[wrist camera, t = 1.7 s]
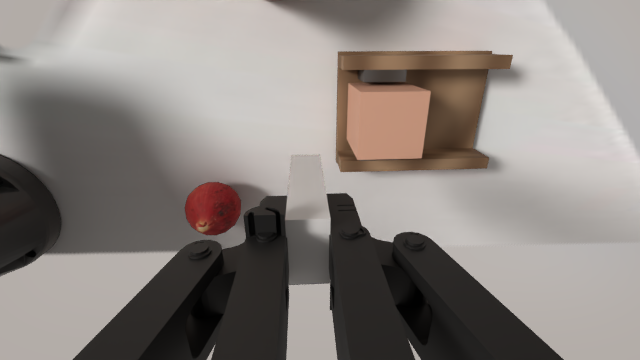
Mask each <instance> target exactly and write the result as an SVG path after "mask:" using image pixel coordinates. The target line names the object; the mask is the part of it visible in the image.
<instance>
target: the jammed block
mask: <svg viewBox="0 0 640 360" xmlns="http://www.w3.org/2000/svg"><path fill="white" fill-rule="evenodd" d="M430 95H431V91H429V90H426V89H423V88H420V87H417V86H414V85H411V84H408V83H405V82H396V83H348V109H347V141H348V143H349V145H350V147H351V149H352V150H353V152H354V154H355V156H356V158H357V160H376V159H418V158H422V153H423V146H424V138H425V131H426V124H427V116H428V109H429V102H430Z"/></svg>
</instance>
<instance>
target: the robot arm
mask: <svg viewBox="0 0 640 360" xmlns="http://www.w3.org/2000/svg"><path fill="white" fill-rule="evenodd" d="M244 223H245V232H246V239H245V242H244V243H242V244H240V245H238V246H235V247H231V248H227V249H223V250H222V247H221V245H220V244H219V243H218V242H216V241H212V240H200V241H196V242H193V243H191V244H189V245H187V246H185V247H184V248H183V249H181V250H180V251H179V252H178V253H177V254H176V255H175V256H174V257H173V258H172V259H171V260H170V261H169V262H168V263H167V264H166V265H165V266H164V267H163V268H162V269H161V270H160V271H159V273H158V274H156V275H155V276H154V278H153V279H152V280H151V281H150V282H149V283H148V284H147V285H146V286H145V287H144V288H143V289H142V290H141V291H140V292H139V293H138V294H137V295H136V296H135V297H134V298H133V299H132V300H131V301H130V302H129V303H128V304H127V305H126V306H125V307H124V308H123V309H122V310H121V311H120V312H119V313H118V314H117V315H116V316H115V317H114V318H113V319H112V320H111V321H110V322H109V323H108V324H107V325H106V326H105V327H104V328H103V329H102V330H101V331H100V332H99V333H98V334H97V335H96V336H95V337H94V338H93V340H92V341H90V342H89V343H88V344H87V345H86V347H85V348H84V349H83V350H82V351H81V352H80V353H79V354H78V355H77V356H76V357H75V358H74V359H73V360H206V359H207V358H208V356H209V354H210V352H211V351H212V349H213V347H214V345H215V343H216V345H215V348H214V352H213V355H212V359H211V360H286V350H287V328H288V307H289V289H288V288H289V287H288V282H289V285H298V284H322V283H323V284H324V283H330V310H332V313H333V323H334V332H335V341H336V350H337V359H338V360H415V358H414V355H413V352H412V350H411V347H410V344H409V341H410V343H411V345H412V346H413V348H414V349H415V351H416V352H417V354H418V355H419V357H420V358H421V360H564V359H562V358H561V357H560V356H559V355H558V354H557V353H556V352H555V351H554V350H552V349H551V348H550V347H549V346H548V345H547V344H546V343H545V342H544V341H543V340H542V339H540V338H539V337H538V336H537V335H536V334H535V333H534V332H533V331H532V330H531V329H529V328H528V327H527V326H526V325H525V324H524V323H523V322H522V321H521V320H520V319H518V318H517V317H516V316H515V315H514V314H513V313H512V312H511V311H510V310H509V309H507V308H506V307H505V306H504V305H503V304H502V303H501V302H500V301H499V300H497V299H496V298H495V297H494V296H493V295H492V294H491V293H490V292H489V291H488V290H486V289H485V288H484V287H483V286H482V285H481V284H480V283H479V282H478V281H477V280H475V279H474V278H473V277H472V276H471V275H470V274H469V273H468V272H467V271H466V270H464V269H463V268H462V267H461V266H460V265H459V264H458V263H457V262H456V261H455V260H453V259H452V258H451V257H450V256H449V255H448V254H447V253H446V252H445V251H444V250H442V249H441V248H440V247H439V246H438V245H437V244H436V243H435V242H434V241H433V240H431V239H430V238H428V237H427V236H425V235H422V234H419V233H414V232H403V233H400V234H398V235H396V236H395V237H394V241H393V242H387V241H381V240H377V239H375V238H372V237H371V236H370V233H369V231H368V230H367V229H366V228H365V227H363V226H362V225H361V222H360V219H359V216H358V213H357V211H356V207H355V204H354V201H353V198H351V197H350V196H349V195H348V194H346V193H341V194H326V189H325V183H324V177H323V171H322V165H321V159H320V155H291V162H290V173H289V184H288V194H287V196H267V197H266V198H264V199H263V200H262V201H261V203H260V206H258V207H255V208H252V209H250V210H249V211H247V212H246V213H245V215H244ZM60 225H61V222H60V215H59V211H58V208H57V205H56V203H55V201H54V199H53V197H52V196H51V194H50V193H49V191H48V190H47V189H46V188H45V186H44V185H43V184H42V183H41V182H40V181H39V180H38V179H37V178H36V177H35V176H34V175H33V174H31V173H30V172H29V171H27V170H26V169H25V168H23V167H22V166H20V165H18V164H17V163H15V162H13V161H11V160H9V159H7V158H5V157H3V156H0V276H2V275H5V274H7V273H9V272H12V271H15V270H17V269H19V268H22V267H24V266H26V265H28V264H30V263H32V262H33V261H35V260H36V259H37V258H39V257H40V256H41V255H42V254H44V253H45V252H46V251H47V250H49V249H50V248H51V247H52V246H53V244H54V243H55V242H56V240H57V238H58V236H59V232H60ZM408 340H409V341H408Z"/></svg>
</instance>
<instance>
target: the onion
mask: <svg viewBox="0 0 640 360" xmlns="http://www.w3.org/2000/svg"><path fill="white" fill-rule="evenodd" d="M240 212H241V200H240V198H239V196H238V194H237V192H236V191H235V190H233V189H232V188H231V187H230V186H228V185H226V184H222V183H219V182H208V183H205V184H203V185H200V186H198V187H197V188H196V189H195V190H194V191H193V192H192V193H191V194H190V195H189V196H188V198H187V201H186V205H185V213H186V218H187V220H188V222H189V223H190V225H191V227H192V228H194V229H195V230H197V231H198V232H200V233H202V234H205V235H218V234H221V233H224V232H226V231H227V230H229V229H230V228H231V227H233V226H234V225H235V223H236V222H237V220H238V218H239V216H240Z"/></svg>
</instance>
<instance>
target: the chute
mask: <svg viewBox="0 0 640 360" xmlns="http://www.w3.org/2000/svg"><path fill="white" fill-rule="evenodd" d="M512 57H513V55H497V54H492V51H372V52H338V77H337V130H336V162H337V163H338V166H339V169H340V172H361V171H400V170H439V169H477V168H487V165H488V161H489V157H487V156H485V155H484V154H482V153H480V152H478V151H477V150H475V149H473V148H472V147H473V143H474V138H475V133H476V128H477V123H478V118H479V113H480V108H481V103H482V98H483V94H484V89H485V84H486V79H487V74H488V69H510V65H511V61H512ZM396 82H405V83H408V84H411V85H414V86H417V87H420V88H423V89H426V90H429V91H431V95H430V102H429V109H428V116H427V124H426V131H425V138H424V146H423V153H422V158H418V159H376V160H357V158H356V156H355V154H354V152H353V150H352V149H351V147H350V145H349V143H348V141H347V109H348V83H396Z"/></svg>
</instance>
